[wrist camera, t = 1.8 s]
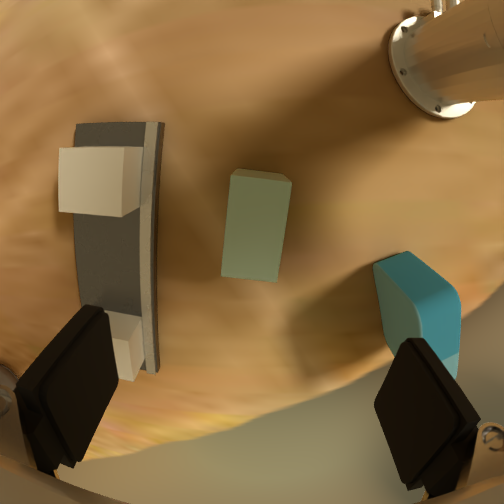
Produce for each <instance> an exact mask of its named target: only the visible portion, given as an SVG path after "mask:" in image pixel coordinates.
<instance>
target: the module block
mask: <svg viewBox="0 0 504 504" xmlns="http://www.w3.org/2000/svg"><path fill="white" fill-rule="evenodd" d="M291 188H292V182H291V181H290V180H289V179H288V178H287V177H286V176H285V175H283V174H280V173H273V172H265V171H257V170H248V169H239V168H237V169H236V170H235V171H234V172H233V173H232V174H231V178H230V187H229V196H228V206H227V216H226V226H225V236H224V246H223V257H222V268H221V276H223V277H231V278H240V279H249V280H258V281H267V282H276V283H277V278H278V272H279V266H280V260H281V254H282V248H283V241H284V235H285V228H286V222H287V215H288V208H289V202H290V195H291Z"/></svg>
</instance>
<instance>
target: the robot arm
mask: <svg viewBox="0 0 504 504" xmlns="http://www.w3.org/2000/svg"><path fill="white" fill-rule="evenodd" d="M445 1H446V10H447V11H445V12H443V11H442V10H443V5H442V1H441V0H431V8H432V13H430V14H429V15H427V16H426V17H425V16H414V17H410V18H407V19H405V20H404V21H402V22H401V23H399V24H398V25H397V26H396V27H395V28H394V30H393V32H392V33H391V35H390V39H389V43H388V55H389V62H390V65H391V68H392V72H393V74H394V76H395V78H396V80H397V83H398V84H399V86H400V87H401V89H402V90H403V92H404V93H405V94H406V95H407V97H408V98H409V99H410V100H411V101H412V102H413V103H414V104H415V105H416V106H418V107H419V108H420V109H422V110H423V111H425V112H426V113H428V114H431V115H433V116H435V117H439V118H457V117H461V116H463V115H465V114H466V113H468V112H469V111H470V110H471V109H472V107H473V106H474V105H475V102H480V101H490V100H503V99H504V0H464V1H462V2H461V3H460V2H459V1H458V0H445ZM400 72H401V74H400ZM435 109H436V110H435ZM118 380H119V377H118V371H117V366H116V360H115V354H114V348H113V342H112V335H111V328H110V320H109V315H108V313H105V312H104V309H103V308H102V307H99V306H94V305H89V304H85V305H84V306H83V307H82V308H81V309H80V310H79V311H78V312H77V313H76V314H75V315H74V316H73V318H72V319H71V320H70V321H69V322H68V323H67V324H66V325H65V326H64V327H63V329H62V330H61V331H60V332H59V333H58V334H57V335H56V336H55V337H54V339H53V340H52V341H51V342H50V343H49V344H48V345H47V347H46V348H45V349H44V350H43V351H42V352H41V354H40V355H39V356H38V357H37V358H36V359H35V361H34V362H33V363H32V364H31V365H30V367H29V368H28V369H27V370H26V371H25V373H24V374H23V375H22V376H21V378H20V379H19V380H18V381H17V383H16V387H15V389H14V390H13V391H12V390H11V389H10V388H9V387H7V386H5V385H1V384H0V504H129V503H126V502H122V501H118V500H115V499H112V498H109V497H106V496H103V495H100V494H96V493H93V492H90V491H88V490H85V489H82V488H79V487H77V486H74V485H71V484H69V483H66V482H64V481H61V480H60V478H59V475H58V472H57V470H56V469H57V468H58V466H59V464H60V463H61V464H63V465H66V466H68V467H71V468H74V466H75V464H76V462H81V461H82V459H83V457H84V455H85V453H86V451H87V448H88V446H89V444H90V442H91V440H92V437H93V435H94V433H95V431H96V429H97V427H98V425H99V423H100V420H101V418H102V416H103V414H104V412H105V410H106V408H107V406H108V404H109V402H110V400H111V398H112V396H113V394H114V392H115V390H116V388H117V385H118ZM374 408H375V411H376V414H377V416H378V419H379V421H380V424H381V427H382V429H383V432H384V435H385V437H386V440H387V443H388V445H389V448H390V451H391V454H392V456H393V459H394V462H395V465H396V468H397V471H398V473H399V476H400V479H401V481H402V483H404V484H406V487H407V490H408V491H409V490H413V489H417V488H421V487H422V486H423V485H424V486H425V489H426V490H425V492H424V495H423V497H422V499H421V502H417V503H414V504H504V427H502V426H501V425H499V424H496V423H492V422H489V423H485V424H483V425H482V426H481V427H480V428H479V429H478V428H477V426H476V425H477V423H478V422H479V421H480V420H481V418H480V417H479V415H478V414H477V412H476V411H475V409H474V408H473V406H472V405H471V403H470V402H469V400H468V399H467V397H466V396H465V394H464V393H463V391H462V390H461V388H460V387H459V385H458V384H457V383H456V381H455V380H454V378H453V377H452V375H451V374H450V373H449V371H448V370H447V368H446V367H445V366H444V364H443V363H442V362H441V360H440V359H439V357H438V356H437V355H436V353H435V352H434V351H433V349H432V348H431V347H430V345H429V344H428V343H427V341H426V340H425V339H424V338H407V339H406V340H405V341H404V342H402V343H401V344H400V346H399V349H398V351H397V353H396V356H395V358H394V360H393V362H392V365H391V367H390V369H389V371H388V374H387V376H386V378H385V380H384V382H383V384H382V386H381V388H380V390H379V392H378V394H377V396H376V399H375V402H374Z"/></svg>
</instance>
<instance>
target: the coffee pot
mask: <svg viewBox="0 0 504 504" xmlns="http://www.w3.org/2000/svg"><path fill="white" fill-rule="evenodd" d="M17 381H18V379H17V377H16V376H15V375H14V374H13V373H12V372H11V371H10V370H9V369H8V368H6V367H5V366H3V365H1V364H0V384H1V385H5V386H7V387H9V388H10V389H11V390H12V391H13V390H14V389H15V387H16V383H17Z"/></svg>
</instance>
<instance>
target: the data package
mask: <svg viewBox="0 0 504 504" xmlns="http://www.w3.org/2000/svg"><path fill="white" fill-rule="evenodd" d="M373 274H374V279H375V284H376V289H377V295H378V300H379V306H380V312H381V318H382V325H383V332H384V336H385V339H386V342H387V344H388V346H389V348H390V350H391V351H392V353H393V355H394V357H395V356H396V353H397V351H398V349H399V346H400V344H401V343H402V342H404V341H405V340H406V339H407V338H424V339H425V340H426V341H427V343H428V344H429V345H430V347H431V348H432V349H433V351H434V352H435V353H436V355H437V356H438V357H439V359H440V360H441V362H442V363H443V364H444V366H445V367H446V368H447V370H448V371H449V373H450V374H451V375H452V377H453V378H454V380H455V378H456V376H457V367H458V356H459V345H460V328H461V302H460V298H459V295H458V293H457V291H456V290H455V288H454V287H453V286H452V285H451V284H450V283H449V282H447V281H446V280H445V279H444V278H443V277H441V276H440V275H439V274H438V273H436V272H435V271H434V270H433V269H431V268H430V267H429V266H428V265H426V264H425V263H424V262H423V261H421V260H420V259H419V258H417V257H416V256H415V255H414V254H412V253H411V252H409V251H405V252H403V253H400V254H397V255H395V256H392V257H389V258H387V259H384V260H381V261H379V262H376V263H374V264H373Z"/></svg>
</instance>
